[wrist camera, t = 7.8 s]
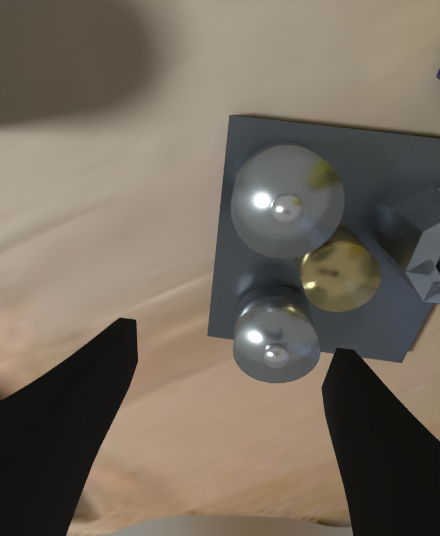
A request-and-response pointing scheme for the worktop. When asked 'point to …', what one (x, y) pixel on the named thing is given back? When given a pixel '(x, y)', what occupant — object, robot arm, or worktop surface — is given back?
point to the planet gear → (416, 242)
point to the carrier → (313, 244)
